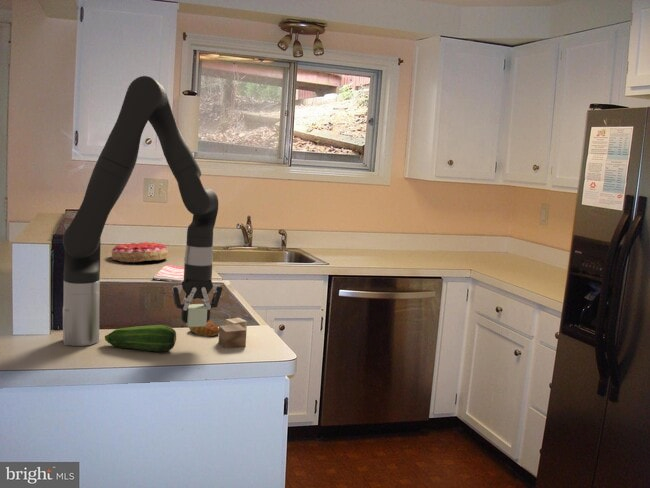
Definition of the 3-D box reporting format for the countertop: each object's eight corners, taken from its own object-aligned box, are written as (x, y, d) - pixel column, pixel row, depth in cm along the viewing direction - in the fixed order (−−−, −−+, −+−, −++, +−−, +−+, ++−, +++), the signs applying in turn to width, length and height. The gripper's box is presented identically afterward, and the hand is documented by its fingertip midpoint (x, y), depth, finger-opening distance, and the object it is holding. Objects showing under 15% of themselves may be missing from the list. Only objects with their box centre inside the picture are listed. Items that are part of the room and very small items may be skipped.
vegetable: (173, 323, 175) (102, 317, 178) (168, 350, 173) (96, 344, 175) (182, 329, 182) (113, 323, 184) (177, 355, 179) (107, 349, 182)
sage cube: (188, 326, 179) (189, 309, 178) (184, 322, 184) (185, 304, 183) (206, 326, 181) (207, 308, 180) (201, 321, 186) (202, 304, 185)
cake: (169, 263, 296) (169, 245, 296) (110, 265, 290) (110, 246, 289) (167, 256, 320) (166, 240, 319) (113, 258, 313) (112, 241, 313)
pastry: (225, 334, 197) (225, 321, 197) (209, 339, 192) (209, 326, 191) (202, 327, 203) (202, 315, 202) (186, 332, 197) (186, 320, 196)
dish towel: (203, 272, 287) (203, 265, 286) (194, 284, 264) (194, 275, 263) (163, 270, 286) (164, 262, 286) (151, 281, 263) (151, 273, 263)
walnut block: (225, 349, 183) (225, 331, 183) (218, 342, 189) (219, 325, 188) (245, 347, 186) (246, 330, 185) (238, 341, 191) (239, 324, 191)
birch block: (233, 337, 194) (234, 323, 193) (225, 334, 197) (225, 319, 197) (246, 335, 197) (246, 321, 196) (238, 332, 200) (238, 317, 200)
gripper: (175, 264, 174) (172, 327, 176) (228, 264, 180) (224, 325, 182) (169, 259, 180) (166, 319, 183) (220, 259, 186) (217, 318, 189)
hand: (195, 322), depth 182 cm, fingers closed on sage cube, 5 cm apart
